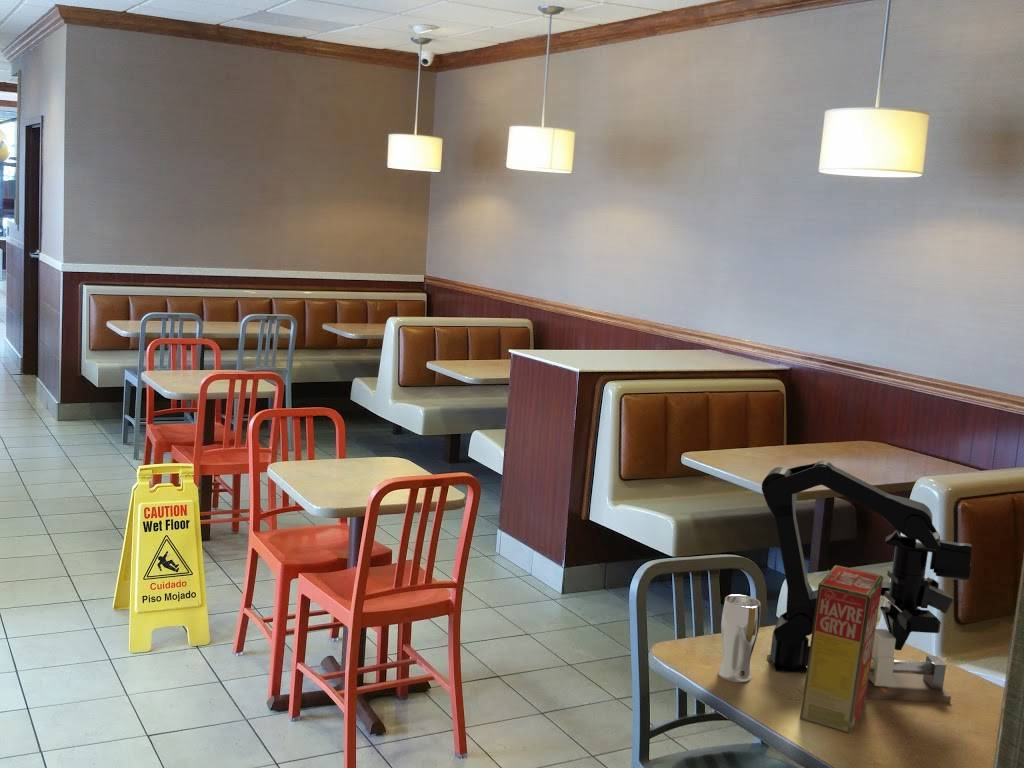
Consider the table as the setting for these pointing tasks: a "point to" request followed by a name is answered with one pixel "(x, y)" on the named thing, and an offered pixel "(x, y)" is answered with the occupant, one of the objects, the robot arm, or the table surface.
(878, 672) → the collar
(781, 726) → the table surface
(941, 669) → the grey metal peg
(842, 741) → the table surface
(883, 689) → the base board
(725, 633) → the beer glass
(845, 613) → the food packaging
